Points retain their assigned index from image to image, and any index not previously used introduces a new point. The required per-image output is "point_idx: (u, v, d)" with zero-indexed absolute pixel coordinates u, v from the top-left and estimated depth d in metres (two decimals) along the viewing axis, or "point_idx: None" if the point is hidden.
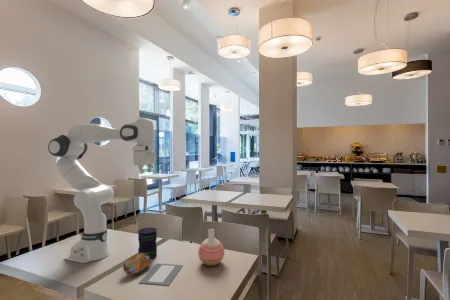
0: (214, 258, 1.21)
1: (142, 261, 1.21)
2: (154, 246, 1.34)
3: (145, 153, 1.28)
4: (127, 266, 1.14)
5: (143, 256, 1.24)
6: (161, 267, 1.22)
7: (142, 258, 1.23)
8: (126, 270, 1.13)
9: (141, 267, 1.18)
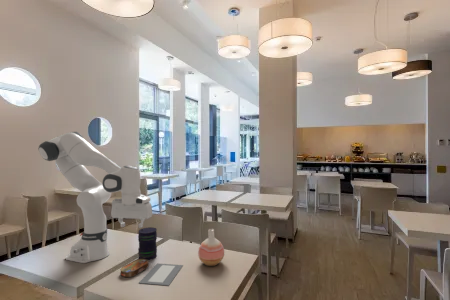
0: (214, 258, 1.21)
1: (139, 264, 1.22)
2: (154, 246, 1.34)
3: None
4: (123, 270, 1.15)
5: (139, 261, 1.25)
6: (161, 267, 1.22)
7: (139, 262, 1.24)
8: (123, 273, 1.14)
9: (138, 267, 1.19)
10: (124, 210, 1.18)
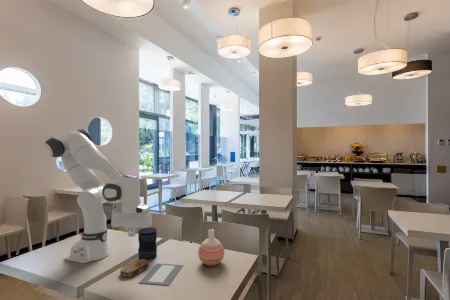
0: (214, 258, 1.21)
1: (139, 264, 1.22)
2: (154, 246, 1.34)
3: None
4: (123, 270, 1.15)
5: (139, 261, 1.25)
6: (161, 267, 1.22)
7: (139, 262, 1.24)
8: (123, 273, 1.14)
9: (138, 267, 1.19)
10: (124, 219, 1.18)
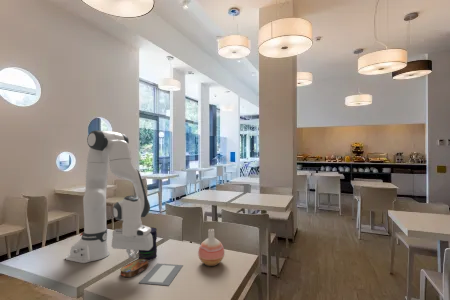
0: (214, 258, 1.21)
1: (139, 264, 1.22)
2: (154, 246, 1.34)
3: None
4: (123, 270, 1.15)
5: (139, 261, 1.25)
6: (161, 267, 1.22)
7: (139, 262, 1.24)
8: (123, 273, 1.14)
9: (138, 267, 1.19)
10: (125, 241, 1.18)
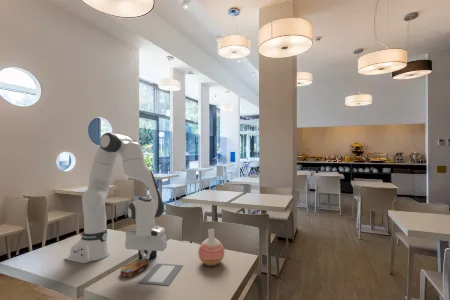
0: (214, 258, 1.21)
1: (139, 264, 1.22)
2: None
3: None
4: (123, 270, 1.15)
5: (139, 261, 1.25)
6: (161, 267, 1.22)
7: (139, 262, 1.24)
8: (123, 273, 1.14)
9: (138, 267, 1.19)
10: (138, 241, 1.17)
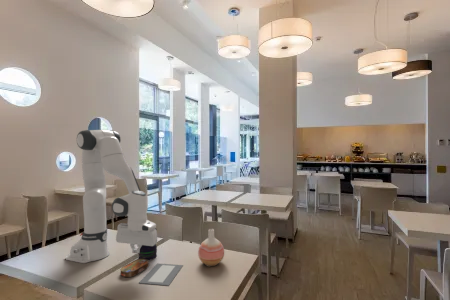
0: (214, 258, 1.21)
1: (139, 264, 1.22)
2: (154, 246, 1.34)
3: None
4: (123, 270, 1.15)
5: (139, 261, 1.25)
6: (161, 267, 1.22)
7: (139, 262, 1.24)
8: (123, 273, 1.14)
9: (138, 267, 1.19)
10: (129, 235, 1.18)
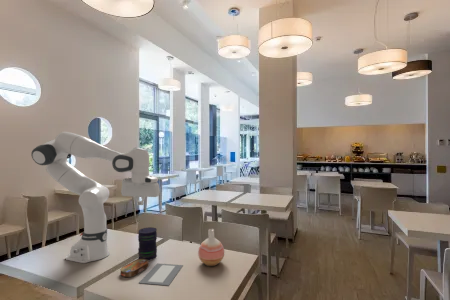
0: (214, 258, 1.21)
1: (139, 264, 1.22)
2: (154, 246, 1.34)
3: None
4: (123, 270, 1.15)
5: (139, 261, 1.25)
6: (161, 267, 1.22)
7: (139, 262, 1.24)
8: (123, 273, 1.14)
9: (138, 267, 1.19)
10: (133, 188, 1.27)
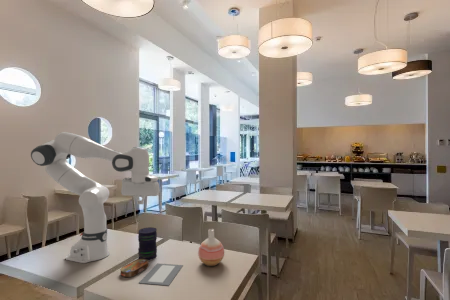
0: (214, 258, 1.21)
1: (139, 264, 1.22)
2: (154, 246, 1.34)
3: None
4: (123, 270, 1.15)
5: (139, 261, 1.25)
6: (161, 267, 1.22)
7: (139, 262, 1.24)
8: (123, 273, 1.14)
9: (138, 267, 1.19)
10: (134, 188, 1.27)
